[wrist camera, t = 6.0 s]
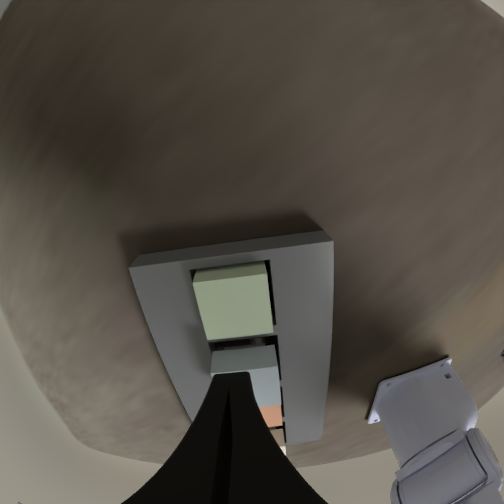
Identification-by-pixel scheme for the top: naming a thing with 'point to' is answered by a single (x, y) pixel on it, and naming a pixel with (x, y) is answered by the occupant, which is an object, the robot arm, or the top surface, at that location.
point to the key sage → (234, 300)
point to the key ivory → (278, 437)
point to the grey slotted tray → (284, 327)
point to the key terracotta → (272, 415)
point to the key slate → (252, 369)
